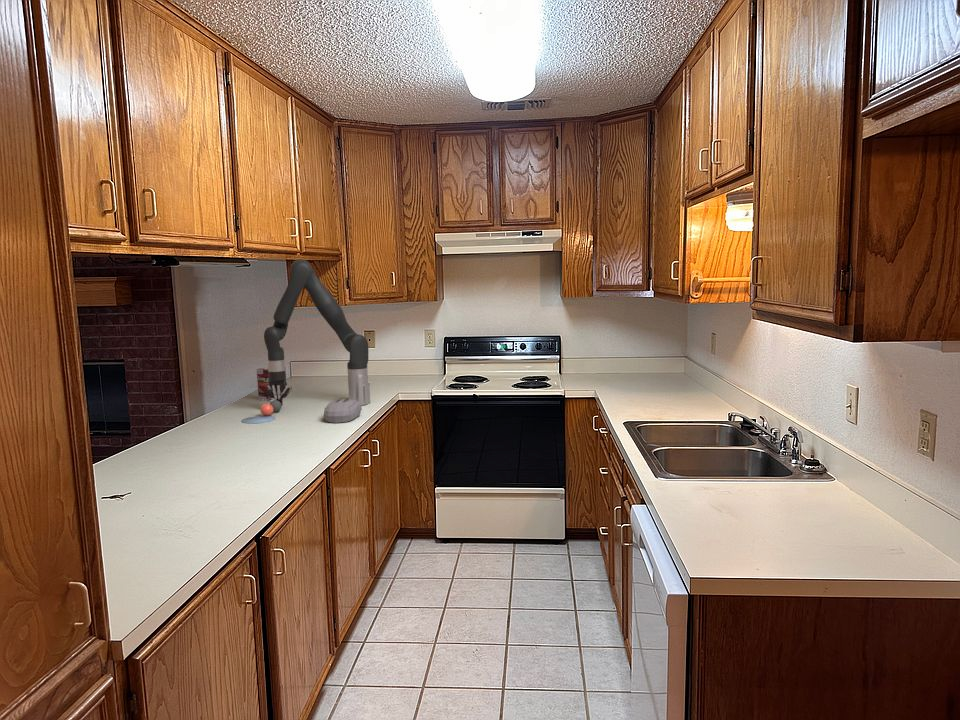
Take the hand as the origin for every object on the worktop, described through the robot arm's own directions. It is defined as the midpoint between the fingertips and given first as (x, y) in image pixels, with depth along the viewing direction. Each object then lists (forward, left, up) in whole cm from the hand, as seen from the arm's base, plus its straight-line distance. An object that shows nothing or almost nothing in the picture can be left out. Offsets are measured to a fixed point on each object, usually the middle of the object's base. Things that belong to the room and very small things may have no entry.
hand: (279, 407), depth 297 cm
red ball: (0, +12, +1) cm, 12 cm away
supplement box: (+18, -23, -2) cm, 29 cm away
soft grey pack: (-36, +14, -2) cm, 39 cm away
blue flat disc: (0, +19, -2) cm, 19 cm away
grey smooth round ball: (0, +4, +1) cm, 4 cm away
